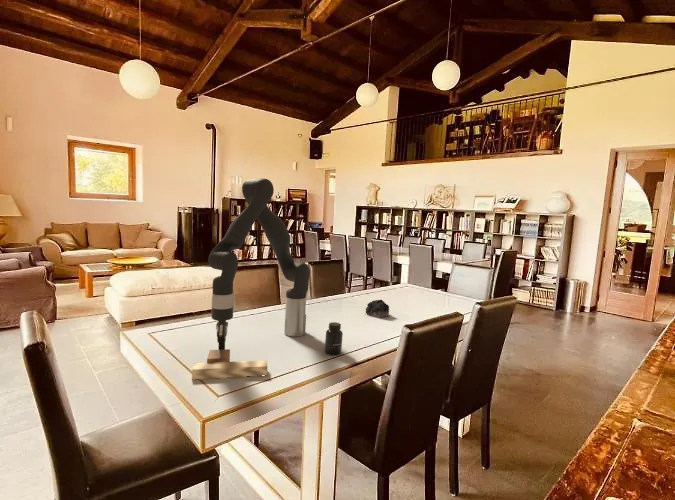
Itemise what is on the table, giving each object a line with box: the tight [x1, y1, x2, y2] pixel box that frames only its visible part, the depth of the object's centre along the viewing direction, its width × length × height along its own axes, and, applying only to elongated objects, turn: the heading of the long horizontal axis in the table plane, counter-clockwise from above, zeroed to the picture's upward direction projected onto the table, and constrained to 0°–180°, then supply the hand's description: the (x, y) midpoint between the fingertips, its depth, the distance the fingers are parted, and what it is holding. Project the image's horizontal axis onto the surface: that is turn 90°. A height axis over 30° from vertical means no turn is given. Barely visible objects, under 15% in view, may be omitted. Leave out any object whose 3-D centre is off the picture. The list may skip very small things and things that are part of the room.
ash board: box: [191, 359, 268, 381], centre depth 124 cm, size 24×5×4 cm, turn 103°
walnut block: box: [206, 348, 231, 363], centre depth 129 cm, size 7×8×5 cm
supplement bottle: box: [324, 321, 343, 356], centre depth 148 cm, size 7×7×12 cm
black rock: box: [365, 299, 390, 318], centre depth 208 cm, size 13×14×10 cm
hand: (221, 351), depth 134 cm, fingers closed
